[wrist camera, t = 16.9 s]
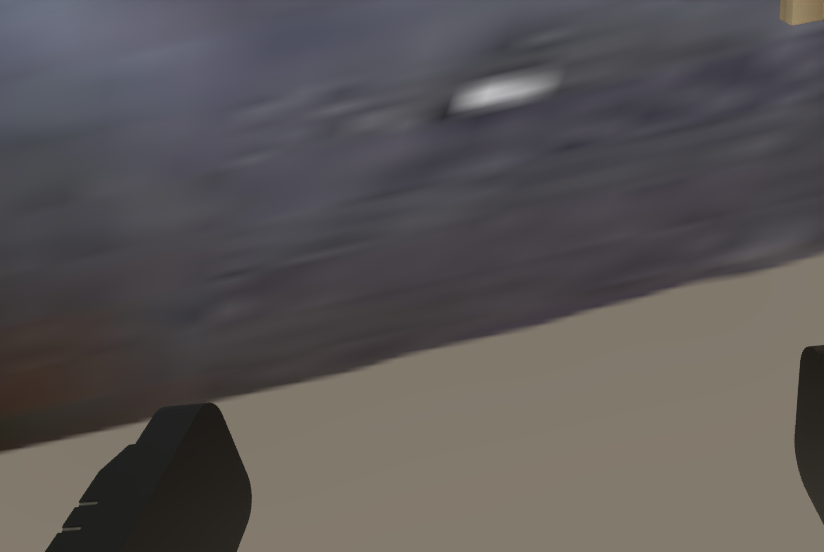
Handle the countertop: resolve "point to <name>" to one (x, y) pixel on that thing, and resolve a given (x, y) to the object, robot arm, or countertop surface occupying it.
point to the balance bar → (801, 11)
